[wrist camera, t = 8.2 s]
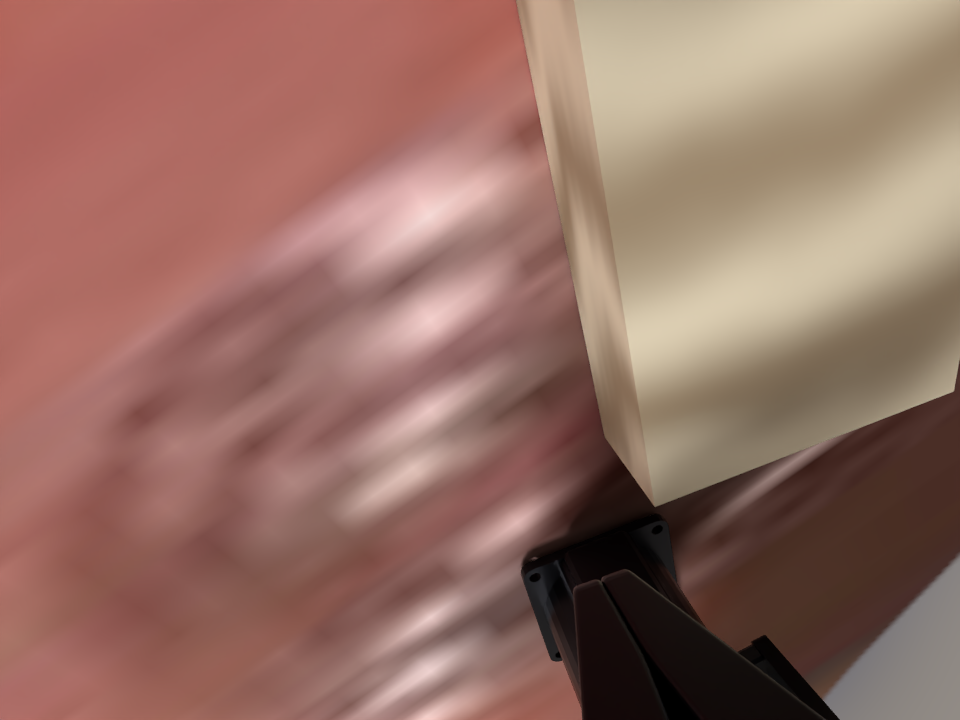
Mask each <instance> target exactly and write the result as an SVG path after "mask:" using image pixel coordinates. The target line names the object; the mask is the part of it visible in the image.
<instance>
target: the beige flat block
mask: <svg viewBox="0 0 960 720" xmlns="http://www.w3.org/2000/svg"><path fill="white" fill-rule="evenodd" d="M516 3H517V8H518V13H519V18H520V23H521V28H522V33H523V38H524V43H525V48H526V53H527V57H528V62H529V67H530V72H531V77H532V82H533V87H534V92H535V97H536V102H537V107H538V112H539V116H540V121H541V126H542V131H543V136H544V141H545V146H546V151H547V156H548V161H549V166H550V171H551V175H552V180H553V185H554V190H555V195H556V200H557V205H558V210H559V215H560V220H561V225H562V230H563V235H564V239H565V244H566V249H567V254H568V259H569V264H570V269H571V274H572V279H573V284H574V289H575V294H576V298H577V303H578V308H579V313H580V318H581V323H582V328H583V333H584V338H585V343H586V348H587V353H588V357H589V362H590V367H591V372H592V377H593V382H594V387H595V392H596V397H597V402H598V407H599V412H600V417H601V421H602V426H603V431H604V436H605V438H606V440H607V441H608V443H609V444H610V445H611V447H612V448H613V449H614V451H615V452H616V454H617V455H618V456H619V458H620V459H621V461H622V462H623V463H624V465H625V466H626V468H627V469H628V470H629V472H630V473H631V475H632V476H633V477H634V479H635V480H636V482H637V483H638V484H639V486H640V487H641V489H642V490H643V491H644V493H645V494H646V495H647V497H648V498H649V500H650V501H651V502H652V504H653V505H654V507H656V506H659V505H662V504H664V503H667V502H669V501H672V500H674V499H677V498H680V497H682V496H685V495H687V494H690V493H693V492H695V491H698V490H700V489H703V488H705V487H708V486H711V485H713V484H716V483H718V482H721V481H724V480H726V479H729V478H731V477H734V476H736V475H739V474H742V473H744V472H747V471H749V470H752V469H754V468H757V467H760V466H762V465H765V464H767V463H770V462H773V461H775V460H778V459H780V458H783V457H785V456H788V455H791V454H793V453H796V452H798V451H801V450H804V449H806V448H809V447H811V446H814V445H816V444H819V443H822V442H824V441H827V440H829V439H832V438H834V437H837V436H840V435H842V434H845V433H847V432H850V431H853V430H855V429H858V428H860V427H863V426H865V425H868V424H871V423H873V422H876V421H878V420H881V419H884V418H886V417H889V416H891V415H894V414H896V413H899V412H902V411H904V410H907V409H909V408H912V407H914V406H917V405H920V404H922V403H925V402H927V401H930V400H933V399H935V398H938V397H940V396H943V395H945V394H948V393H951V392H953V391H954V388H955V382H956V376H957V371H958V365H959V359H960V0H516Z"/></svg>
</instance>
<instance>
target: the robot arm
mask: <svg viewBox="0 0 960 720" xmlns="http://www.w3.org/2000/svg"><path fill="white" fill-rule="evenodd" d="M534 573H535V574H534ZM521 576H522V579H523V582H524V585H525V587H526V590H527V593H528V596H529V599H530V602H531V605H532V607H533V610H534V613H535V616H536V619H537V622H538V625H539V627H540V630H541V633H542V636H543V639H544V642H545V645H546V647H547V650H548V653H549V656H550V658H551V660H553V661H562V660H563V662H564V665H565V668H566V670H567V673H568V675H569V678H570V680H571V683H572V685H573V688H574V691H575V693H576V696H577V698H578V701H579V703H580V706H581V709H582V720H840V719H839V718H838V717H837V716H836V715H835V714H834V713H833V711H831V709H830V708H829V707H828V706H827V705H826V703H825V702H824V701H823V700H822V699H821V698H820V697H819V696H818V694H817V693H816V692H815V691H814V690H813V689H812V688H811V686H810V685H809V684H808V683H807V682H806V681H805V680H804V678H803V677H802V676H801V675H800V674H799V673H798V672H797V671H796V669H795V668H794V667H793V666H792V665H791V664H790V663H789V661H788V660H787V659H786V658H785V657H784V656H783V655H782V653H781V652H780V651H779V650H778V649H777V648H776V647H775V646H774V644H773V643H772V642H771V641H770V640H769V639H768V638H767V636H766V635H763V636H761V637H759V638H757V639H755V640H753V641H751V643H752V645H750V646H748V647H746V648H744V649H742V650H740V651H738V652H736V651H735V650H734V649H733V648H731V647H730V646H729V645H727V644H726V643H725V642H723V641H722V640H721V639H719V638H718V637H717V636H715V635H714V634H713V633H711V632H710V631H709V630H708V629H706V627H705V625H704V624H703V622H702V621H701V619H700V618H699V616H698V615H697V613H696V612H695V610H694V609H693V607H692V606H691V604H690V603H689V601H688V600H687V598H686V597H685V595H684V594H683V592H682V590H681V589H680V587H679V586H678V584H677V581H676V575H675V568H674V561H673V554H672V547H671V541H670V534H669V527H668V524H667V522H666V521H665V519H664V518H663V517H662V516H661V515H659V514H654V515H651V516H648V517H645V518H643V519H640V520H638V521H635V522H633V523H630V524H627V525H625V526H622V527H620V528H617V529H614V530H612V531H609V532H607V533H604V534H602V535H599V536H596V537H594V538H591V539H589V540H586V541H584V542H581V543H578V544H576V545H573V546H571V547H568V548H566V549H563V550H560V551H558V552H555V553H553V554H550V555H548V556H545V557H542V558H540V559H537V560H535V561H532V562H530V563H528V564H526V565H525V566H524V567H523V568H522V570H521Z"/></svg>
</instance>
